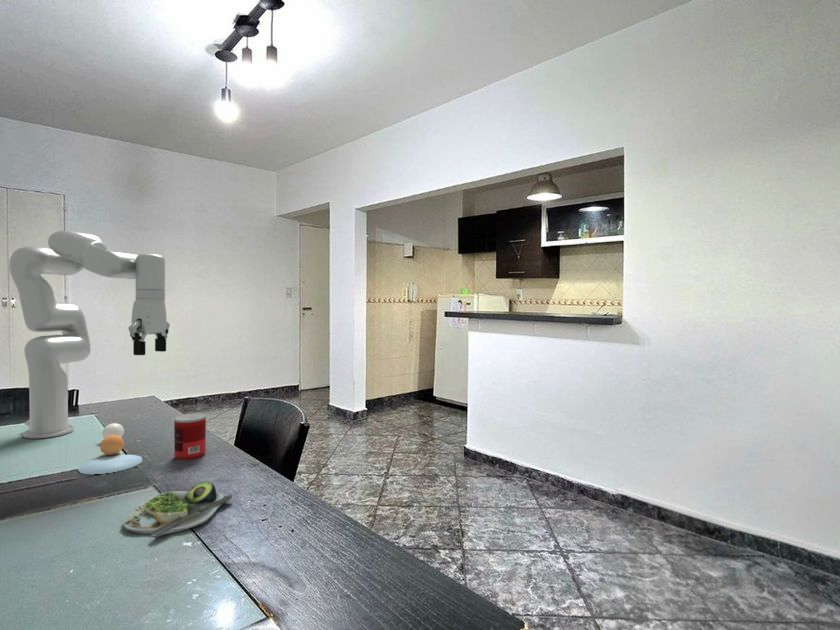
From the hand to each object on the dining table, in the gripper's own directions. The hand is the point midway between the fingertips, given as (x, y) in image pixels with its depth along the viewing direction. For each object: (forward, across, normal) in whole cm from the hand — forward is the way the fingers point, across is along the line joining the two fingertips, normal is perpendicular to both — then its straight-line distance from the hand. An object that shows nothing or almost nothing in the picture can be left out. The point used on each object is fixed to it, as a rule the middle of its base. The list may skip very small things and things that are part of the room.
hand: (150, 353), depth 132 cm
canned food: (+28, +8, +16) cm, 33 cm away
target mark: (+28, +16, 0) cm, 32 cm away
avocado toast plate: (+28, +40, +33) cm, 59 cm away
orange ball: (+25, +9, -5) cm, 27 cm away
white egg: (+25, -3, -13) cm, 29 cm away
